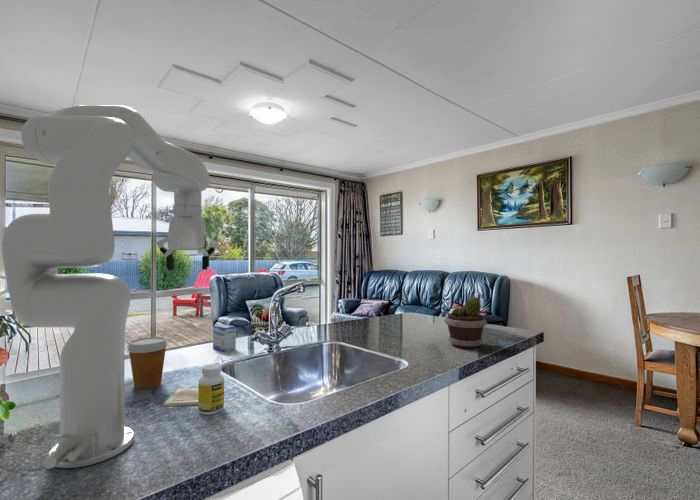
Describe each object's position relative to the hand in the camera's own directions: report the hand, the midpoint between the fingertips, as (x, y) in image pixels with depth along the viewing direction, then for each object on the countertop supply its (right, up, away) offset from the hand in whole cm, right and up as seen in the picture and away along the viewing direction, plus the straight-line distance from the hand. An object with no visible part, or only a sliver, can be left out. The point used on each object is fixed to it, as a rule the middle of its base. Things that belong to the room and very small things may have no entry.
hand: (187, 269), depth 108 cm
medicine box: (+2, -31, +25) cm, 40 cm away
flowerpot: (+92, -30, +28) cm, 101 cm away
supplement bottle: (+17, -30, -27) cm, 44 cm away
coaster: (+9, -30, -20) cm, 37 cm away
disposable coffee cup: (-6, -31, -11) cm, 33 cm away
